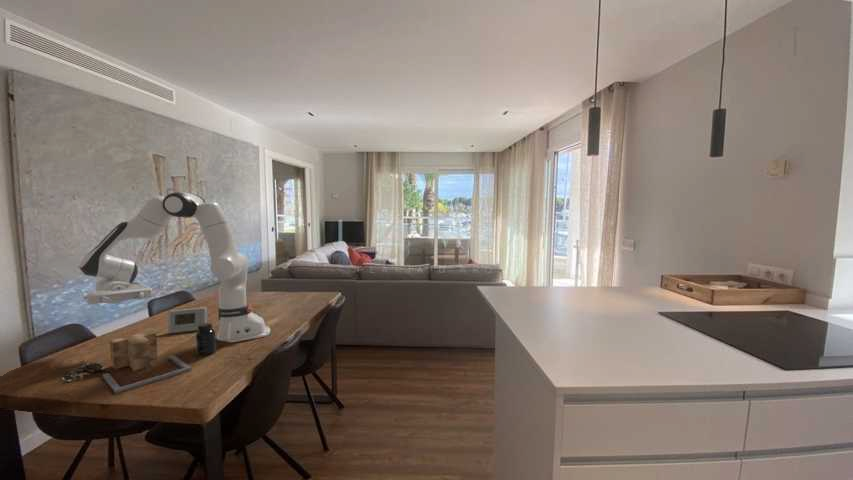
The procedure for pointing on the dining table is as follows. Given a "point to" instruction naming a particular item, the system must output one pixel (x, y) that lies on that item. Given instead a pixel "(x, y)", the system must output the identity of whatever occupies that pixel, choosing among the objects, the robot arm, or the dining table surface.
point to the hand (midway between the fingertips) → (126, 299)
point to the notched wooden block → (134, 351)
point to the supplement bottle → (205, 339)
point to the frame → (118, 389)
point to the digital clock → (186, 319)
